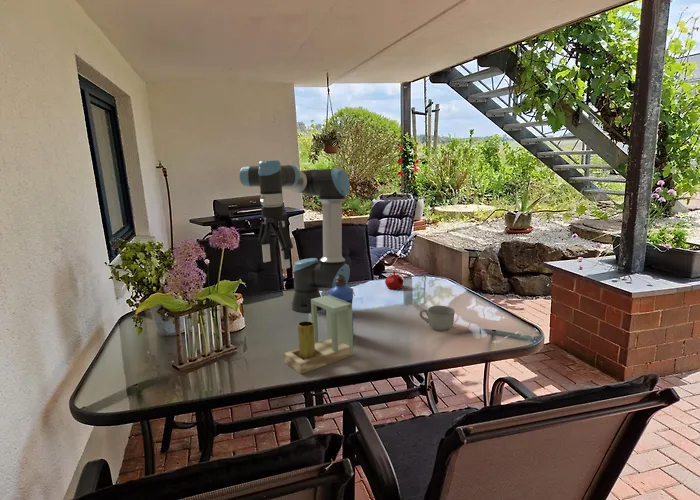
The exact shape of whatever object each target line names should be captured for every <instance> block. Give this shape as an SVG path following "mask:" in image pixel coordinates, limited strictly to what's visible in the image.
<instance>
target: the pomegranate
mask: <svg viewBox="0 0 700 500" xmlns="http://www.w3.org/2000/svg"><path fill="white" fill-rule="evenodd" d="M387 275H388V276H387V277H386V278H385V279H384V280H385V281H384V282H385V286H386V287H387V288H388V289H389V290H400V289H402V288H403V286H404V282H405V281H404V279H403V278H402V276H401V274H400V273H398V274H396V271H395V270H393V274H391V273H388V274H387Z"/></svg>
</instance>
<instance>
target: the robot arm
mask: <svg viewBox="0 0 700 500" xmlns="http://www.w3.org/2000/svg"><path fill="white" fill-rule="evenodd" d="M238 174H239V181H240V183H241V185H242V186H244V187H252V188H253V187H257V188H259V189H260V197H259V199H260V205H261V218H260V228H259V233H258V239H257V241H258V242H259V243H260V245H261V251H262V261H263V263H267V262H271V261H272V258H271V245H270V244H271V243H270V239H271V237H272V234H273V235H275V236H276V238H277V240H278V243H279V245H280V248H281V249H280V253H281V255H280V256H281V268H282V269H283V270H286V269H290V268H291V261H290V260H291V259H290V258H291V257H290V250H291V249H293V248H294V246H293V242H292V239H291V236H290V232H289V229H288V226H287V225H288V224H287V221H286V220H282V217H284V206H283V204H284V199H283V197H284V196H283V189H284V190H290V191H292V192H295V193H298V194H299V193H300V194H305V195H311V196H318V200H319V201H320V202H321V203H322V204H321V205H322V257H320V259H319V260H318V258H316V257H310V258H304V259H300V260H299V259H298V260H297V261H295V262H294V263H293V266H292V267H293V268H292V273H293V289H294V290H293V291H294V292H293V296H292V301H291V304H290V305H291V310H293V311H295V312H299V313H311V299H314V298H318V297H322V296H321V292H320V288H322V289H329V290H330V289H331V288H333V287H335V286H336V285H335V280H336V277H337V276H338V275H343V276H344V277H345V279H344V280H346V285H347V284H348V283H349V279H350V274H351V269H350V265H349V264H347V263H346V259H345V258H344V257H343V255H342V252H343V249H342V247H343V245H342V244H343V241H342V240H343V239H342V237H343V235H342V233H343V232H342V231H343V229H342V228H343V227H342V226H343V225H342V224H343V223H342V222H343V221H342V219H343V218H342V215H343V214H342V213H343V211H342V208H343V207H342V206H343V205H342V204H343V203H344V201H345V200H346V196H348V195H349V194H350V190H351V182H350V178H349V175H348V174H347V172H346V171H345V170H343V169H341V168H327V169H326V168H324V169H322V168H321V169H315V168H314V169H305V170H300V169H298V167H296V166H295V165H292V164H291V165H290V164H284V165H282V164H281V162H280V161H279V160H277V159H275V160H260V161H259V162H258V165H252V166H251V165H248V166H243V167H241V168H240V170H239V173H238ZM321 309H322V308H321V307H319V306H317V311H319V310H321Z"/></svg>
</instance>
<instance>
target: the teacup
mask: <svg viewBox="0 0 700 500" xmlns="http://www.w3.org/2000/svg"><path fill="white" fill-rule="evenodd" d="M423 313H426V316H427V318H426V317H424V316H423V315H422V314H423ZM418 315H419V317H420V318H421V319H422V320H423V321H424V322H426V323H427V324H428V325H429V327H431V328H432V329H433V330H435V329H436V330H435V331H438V330H446V331H447V329H448V330H449V329H451V328H452V327H453V326H454V322H455V310H454V308H453V307H450V306H448V305H432V306H429V308H427V309H425V308H423V309H421V310H420V311H419V314H418Z"/></svg>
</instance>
